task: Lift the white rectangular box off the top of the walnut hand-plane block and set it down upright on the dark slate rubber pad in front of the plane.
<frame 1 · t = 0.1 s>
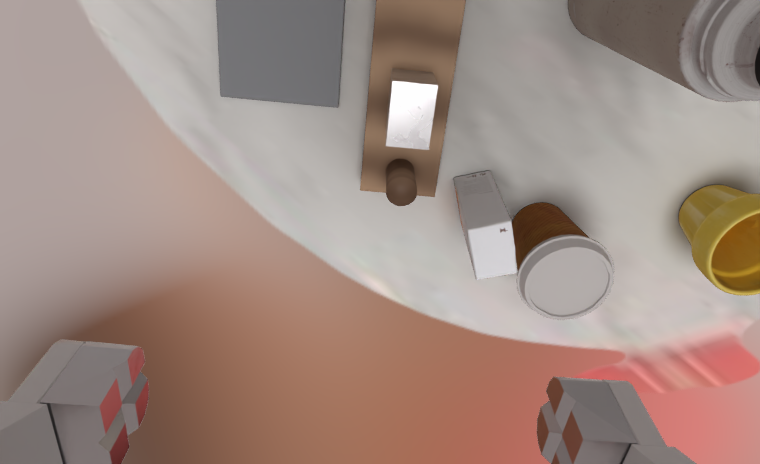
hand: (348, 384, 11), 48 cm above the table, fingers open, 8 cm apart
slate pad: (280, 40, 54), on the table
plant pot: (707, 209, 63), on the table
skincare box: (474, 196, 62), on the table
walnut plane: (407, 93, 56), on the table
white rectangular box: (408, 101, 53), point 3 cm above the table, touching walnut plane
disposable coffee cup: (537, 225, 64), on the table
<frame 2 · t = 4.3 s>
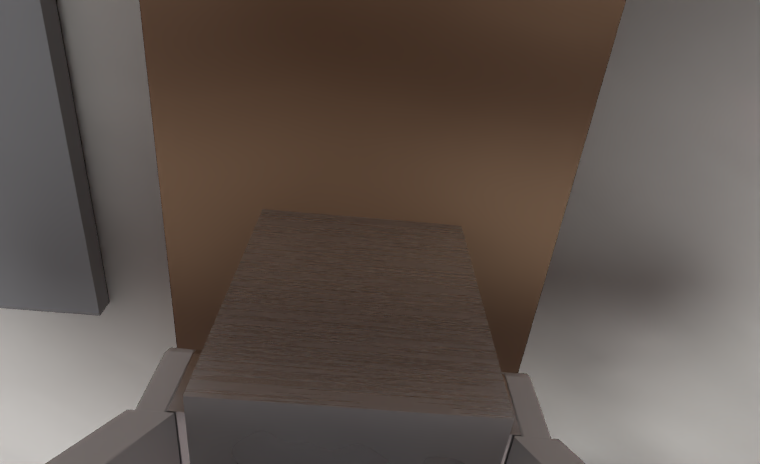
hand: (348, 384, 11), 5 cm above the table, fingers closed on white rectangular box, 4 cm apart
walnut plane: (357, 263, 15), on the table
white rectangular box: (352, 334, 12), point 3 cm above the table, touching gripper, walnut plane
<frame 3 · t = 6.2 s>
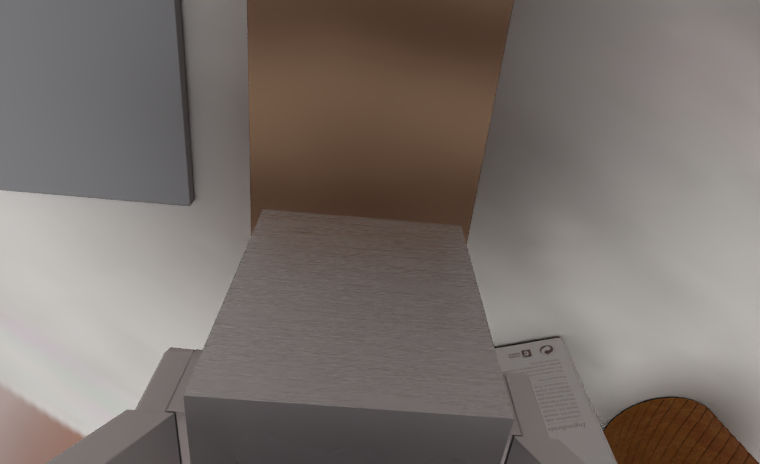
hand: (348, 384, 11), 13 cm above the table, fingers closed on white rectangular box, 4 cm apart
slate pad: (16, 35, 20), on the table
skincare box: (522, 384, 28), on the table
walnut plane: (364, 170, 22), on the table
white rectangular box: (352, 334, 12), point 11 cm above the table, touching gripper
disposable coffee cup: (655, 436, 30), on the table
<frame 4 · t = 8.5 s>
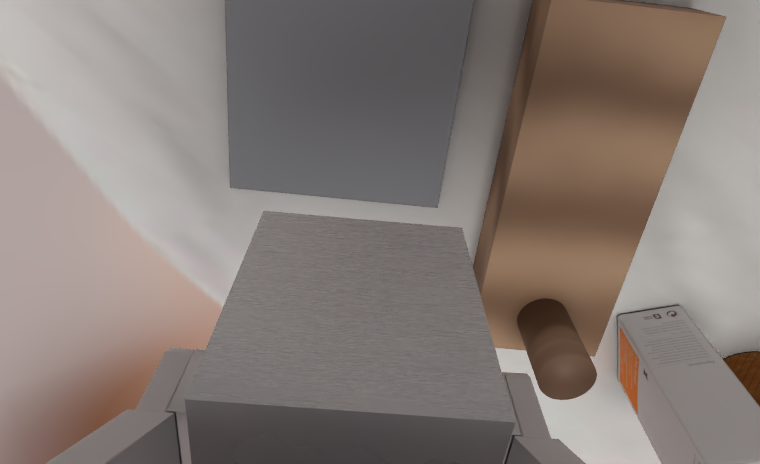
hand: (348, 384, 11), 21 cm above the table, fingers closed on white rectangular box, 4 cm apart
slate pad: (343, 91, 29), on the table
skincare box: (645, 341, 38), on the table
walnut plane: (560, 184, 32), on the table
white rectangular box: (352, 335, 12), point 19 cm above the table, touching gripper
disposable coffee cup: (738, 382, 39), on the table
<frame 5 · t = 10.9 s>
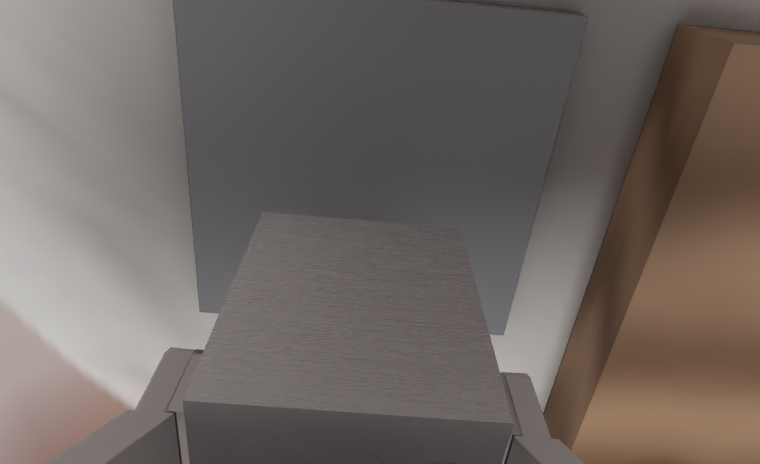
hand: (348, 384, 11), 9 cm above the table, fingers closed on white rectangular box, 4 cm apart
slate pad: (366, 178, 19), on the table
walnut plane: (684, 299, 22), on the table
white rectangular box: (352, 336, 12), point 8 cm above the table, touching gripper
when the fingers open (4 cm above the table, at t = 12.8 s): white rectangular box drops 1 cm, resting on slate pad.
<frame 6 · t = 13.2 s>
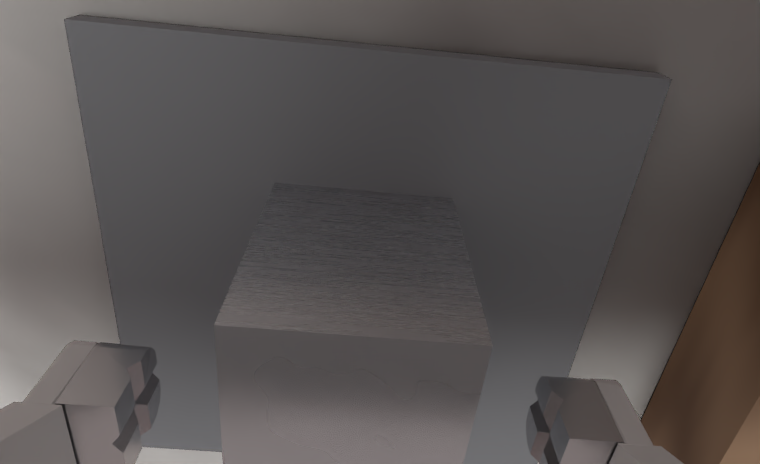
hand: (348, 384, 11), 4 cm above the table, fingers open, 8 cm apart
slate pad: (354, 284, 14), on the table
white rectangular box: (354, 299, 14), point 1 cm above the table, touching slate pad
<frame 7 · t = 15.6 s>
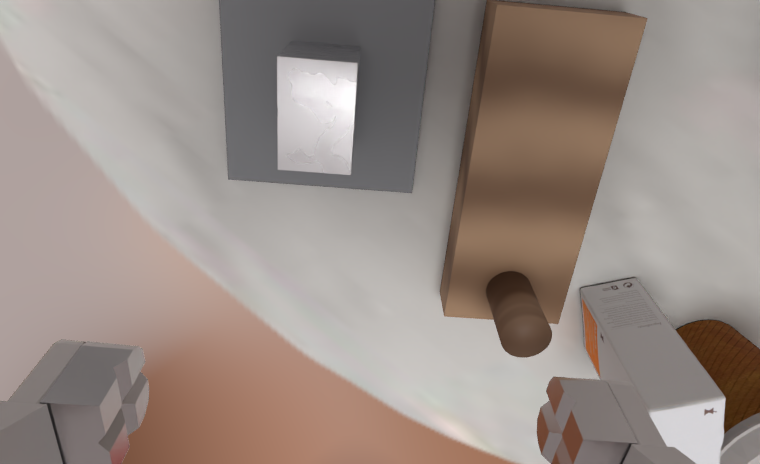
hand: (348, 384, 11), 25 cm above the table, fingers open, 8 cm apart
slate pad: (324, 92, 33), on the table
skincare box: (607, 312, 41), on the table
walnut plane: (520, 169, 36), on the table
white rectangular box: (324, 95, 33), point 1 cm above the table, touching slate pad
disposable coffee cup: (695, 349, 43), on the table
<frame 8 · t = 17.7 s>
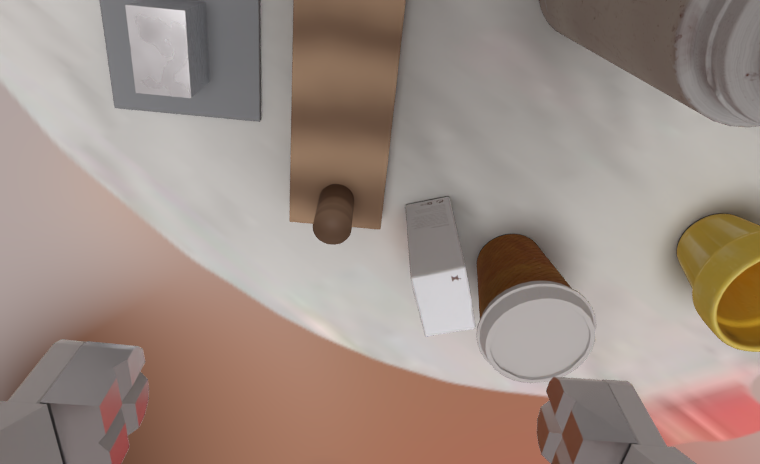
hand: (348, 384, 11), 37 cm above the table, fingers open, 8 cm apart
slate pad: (184, 38, 43), on the table
plant pot: (711, 241, 52), on the table
skincare box: (431, 226, 52), on the table
walnut plane: (344, 104, 46), on the table
white rectangular box: (182, 40, 43), point 1 cm above the table, touching slate pad
disposable coffee cup: (508, 260, 53), on the table
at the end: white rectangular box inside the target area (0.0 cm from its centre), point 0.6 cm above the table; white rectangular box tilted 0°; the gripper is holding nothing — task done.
